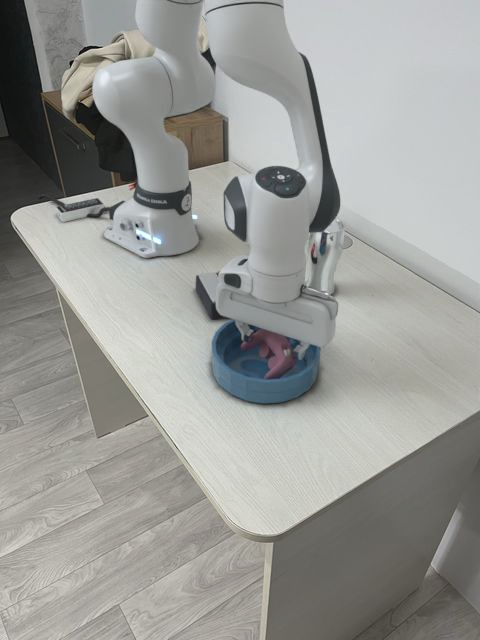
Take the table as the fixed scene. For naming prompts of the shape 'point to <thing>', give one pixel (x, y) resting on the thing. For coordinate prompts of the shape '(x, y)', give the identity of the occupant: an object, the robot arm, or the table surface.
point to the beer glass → (325, 256)
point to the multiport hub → (79, 209)
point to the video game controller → (272, 345)
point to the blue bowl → (259, 368)
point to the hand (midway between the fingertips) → (272, 348)
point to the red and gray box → (208, 292)
